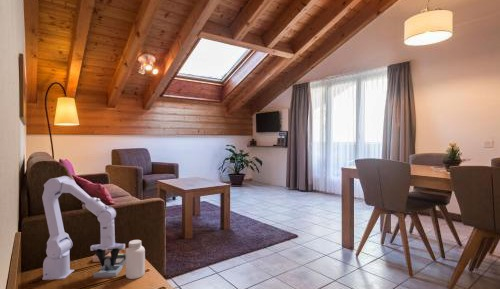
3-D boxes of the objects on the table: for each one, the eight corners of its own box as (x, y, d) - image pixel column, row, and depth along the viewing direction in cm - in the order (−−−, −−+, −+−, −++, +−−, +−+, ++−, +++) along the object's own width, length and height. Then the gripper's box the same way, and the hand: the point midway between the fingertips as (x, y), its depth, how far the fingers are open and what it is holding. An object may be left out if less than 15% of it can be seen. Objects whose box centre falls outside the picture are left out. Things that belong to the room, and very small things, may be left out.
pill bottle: (138, 280, 121) (137, 245, 121) (121, 278, 123) (121, 244, 122) (148, 271, 129) (148, 239, 129) (133, 270, 130) (132, 238, 130)
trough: (93, 277, 124) (93, 273, 124) (101, 269, 131) (101, 265, 131) (116, 276, 124) (115, 272, 124) (122, 268, 132) (122, 264, 132)
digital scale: (122, 268, 133) (121, 261, 133) (103, 269, 132) (103, 262, 132) (129, 259, 143) (129, 253, 143) (112, 260, 142) (112, 253, 142)
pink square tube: (92, 262, 140) (92, 256, 140) (99, 256, 147) (99, 250, 147) (107, 261, 140) (107, 255, 140) (113, 256, 147) (113, 250, 147)
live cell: (102, 271, 126) (101, 257, 126) (106, 267, 130) (106, 254, 130) (111, 270, 126) (111, 257, 126) (115, 266, 130) (114, 253, 130)
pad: (120, 264, 134) (119, 262, 134) (108, 264, 134) (108, 262, 134) (124, 259, 140) (124, 257, 140) (113, 260, 139) (113, 258, 139)
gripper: (86, 239, 123) (87, 270, 124) (120, 237, 124) (121, 268, 124) (94, 233, 130) (95, 263, 131) (126, 232, 131) (127, 261, 131)
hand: (108, 265), depth 128 cm, fingers closed on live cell, 4 cm apart
